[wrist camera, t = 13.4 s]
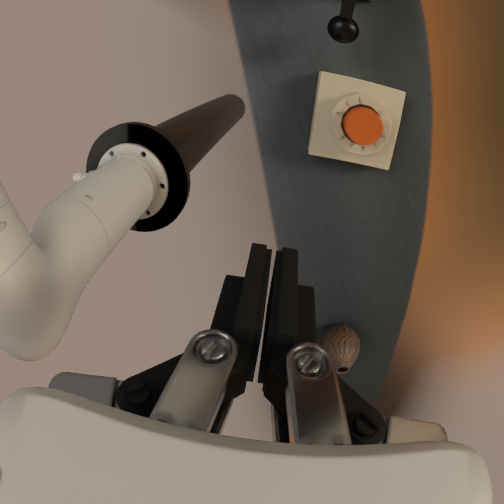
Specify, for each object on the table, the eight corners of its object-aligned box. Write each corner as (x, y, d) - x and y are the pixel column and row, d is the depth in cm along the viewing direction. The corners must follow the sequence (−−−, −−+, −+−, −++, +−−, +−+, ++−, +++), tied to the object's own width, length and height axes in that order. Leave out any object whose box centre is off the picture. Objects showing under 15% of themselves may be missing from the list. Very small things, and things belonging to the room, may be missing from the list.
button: (340, 137, 29) (342, 141, 28) (346, 103, 27) (349, 104, 26) (374, 145, 29) (378, 149, 28) (381, 111, 27) (386, 113, 26)
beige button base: (307, 149, 34) (309, 159, 31) (319, 71, 29) (322, 71, 25) (383, 165, 34) (393, 175, 31) (399, 90, 28) (411, 93, 25)
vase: (317, 341, 54) (318, 380, 47) (324, 317, 50) (327, 357, 43) (351, 343, 53) (356, 381, 46) (361, 319, 49) (368, 359, 42)
